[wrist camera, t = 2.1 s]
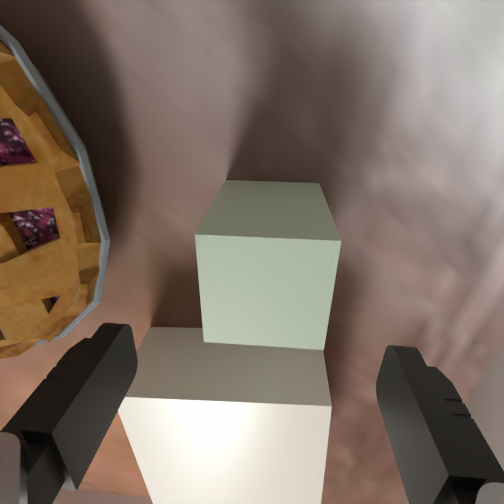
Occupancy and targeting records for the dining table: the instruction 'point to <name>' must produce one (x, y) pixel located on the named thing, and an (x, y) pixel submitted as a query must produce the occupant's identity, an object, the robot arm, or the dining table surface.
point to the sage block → (267, 265)
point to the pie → (44, 212)
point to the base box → (227, 420)
